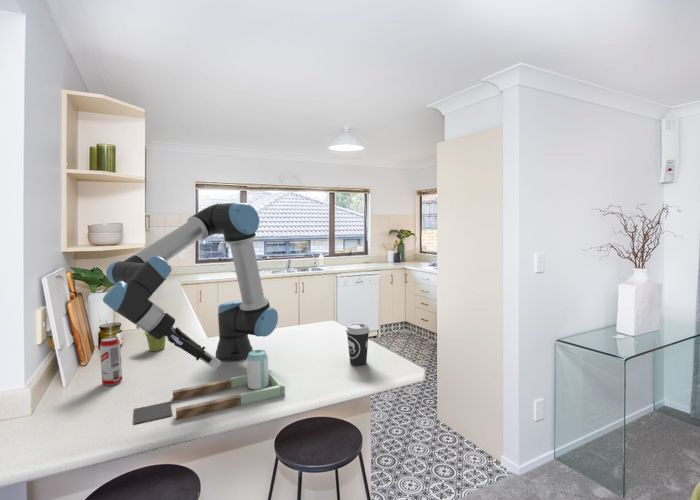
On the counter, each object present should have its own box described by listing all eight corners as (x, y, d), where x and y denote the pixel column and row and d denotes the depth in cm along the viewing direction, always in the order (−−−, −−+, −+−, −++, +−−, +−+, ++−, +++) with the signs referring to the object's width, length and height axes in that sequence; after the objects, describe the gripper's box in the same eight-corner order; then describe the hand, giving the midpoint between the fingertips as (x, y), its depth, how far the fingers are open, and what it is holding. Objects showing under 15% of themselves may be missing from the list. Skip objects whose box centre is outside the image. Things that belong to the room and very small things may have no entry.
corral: (240, 404, 122) (240, 395, 122) (230, 386, 136) (230, 377, 136) (285, 394, 128) (284, 385, 128) (270, 377, 143) (270, 369, 142)
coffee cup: (368, 368, 150) (367, 329, 149) (343, 366, 152) (343, 328, 151) (371, 359, 160) (371, 323, 159) (348, 358, 162) (348, 322, 161)
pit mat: (133, 424, 111) (133, 423, 111) (134, 409, 120) (134, 408, 120) (172, 415, 116) (172, 414, 116) (170, 402, 124) (170, 401, 124)
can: (244, 386, 136) (243, 352, 135) (263, 380, 140) (262, 347, 139) (253, 392, 130) (251, 357, 129) (272, 387, 135) (271, 352, 134)
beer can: (107, 387, 136) (105, 342, 135) (98, 384, 139) (95, 339, 138) (126, 381, 141) (123, 337, 140) (116, 378, 145) (114, 335, 144)
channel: (176, 419, 113) (176, 411, 113) (172, 397, 127) (172, 390, 127) (240, 405, 122) (239, 397, 122) (229, 386, 136) (229, 379, 136)
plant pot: (148, 354, 170) (147, 334, 170) (142, 349, 177) (141, 330, 177) (171, 349, 176) (170, 330, 176) (164, 344, 184) (163, 326, 183)
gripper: (146, 327, 121) (206, 368, 131) (147, 338, 110) (213, 382, 119) (164, 307, 123) (222, 349, 133) (166, 316, 112) (230, 362, 121)
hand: (217, 365), depth 126 cm, fingers closed
